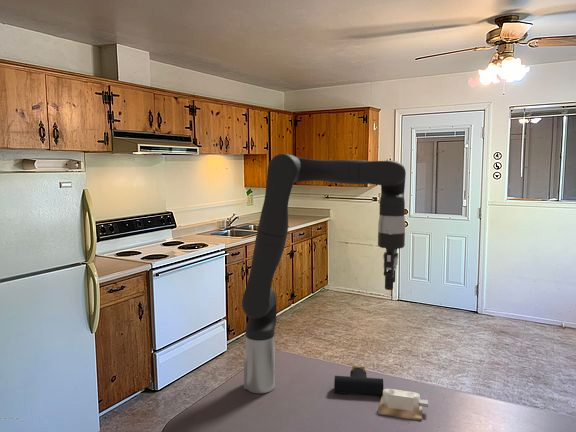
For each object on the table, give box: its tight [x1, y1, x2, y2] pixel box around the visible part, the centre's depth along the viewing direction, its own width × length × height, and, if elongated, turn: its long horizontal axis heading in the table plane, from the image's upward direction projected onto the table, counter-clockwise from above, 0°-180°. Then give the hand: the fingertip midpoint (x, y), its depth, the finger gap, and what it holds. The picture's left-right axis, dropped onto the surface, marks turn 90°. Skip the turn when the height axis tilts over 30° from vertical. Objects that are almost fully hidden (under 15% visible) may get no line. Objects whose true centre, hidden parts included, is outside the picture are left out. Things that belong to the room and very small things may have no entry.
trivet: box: [377, 395, 423, 422], centre depth 131 cm, size 12×10×1 cm
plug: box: [383, 388, 429, 411], centre depth 131 cm, size 13×4×4 cm, turn 72°
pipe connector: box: [333, 365, 384, 397], centre depth 144 cm, size 12×5×15 cm
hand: (390, 285), depth 131 cm, fingers open, 8 cm apart
